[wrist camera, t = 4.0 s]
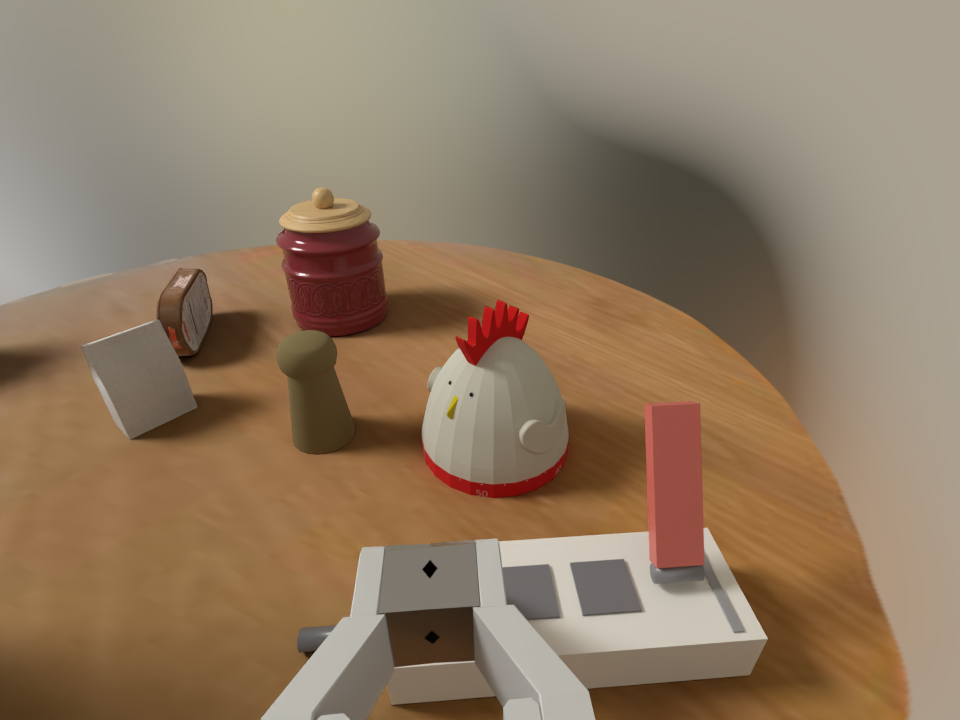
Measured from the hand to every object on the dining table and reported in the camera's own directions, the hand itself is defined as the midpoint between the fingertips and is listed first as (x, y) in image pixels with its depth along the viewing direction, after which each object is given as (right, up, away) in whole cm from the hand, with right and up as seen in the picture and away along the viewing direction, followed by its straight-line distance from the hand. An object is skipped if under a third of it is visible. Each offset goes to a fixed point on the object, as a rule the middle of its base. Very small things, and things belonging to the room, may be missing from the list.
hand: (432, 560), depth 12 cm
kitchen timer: (+2, -4, +39) cm, 40 cm away
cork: (-14, -3, +41) cm, 43 cm away
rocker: (+13, -9, +21) cm, 27 cm away
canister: (-18, +11, +62) cm, 66 cm away
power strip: (+3, -14, +23) cm, 27 cm away
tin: (-36, +7, +57) cm, 68 cm away
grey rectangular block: (-33, -2, +44) cm, 55 cm away
